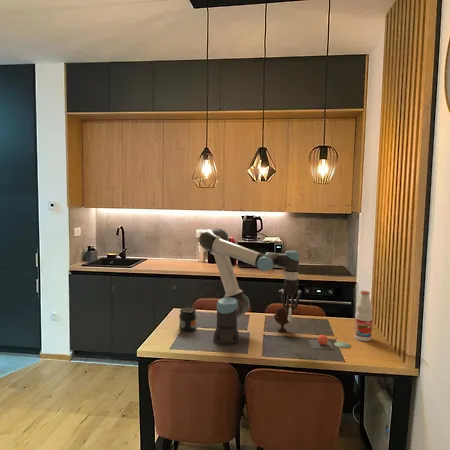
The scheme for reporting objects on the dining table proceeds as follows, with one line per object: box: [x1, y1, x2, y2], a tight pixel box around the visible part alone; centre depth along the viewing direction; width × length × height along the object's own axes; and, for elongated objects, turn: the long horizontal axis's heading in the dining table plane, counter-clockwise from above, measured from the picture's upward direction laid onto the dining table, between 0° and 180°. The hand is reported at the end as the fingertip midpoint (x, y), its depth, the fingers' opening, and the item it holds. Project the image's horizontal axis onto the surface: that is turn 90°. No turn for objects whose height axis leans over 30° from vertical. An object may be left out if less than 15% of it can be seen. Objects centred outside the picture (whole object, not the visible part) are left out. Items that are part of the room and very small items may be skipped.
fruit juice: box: [353, 290, 374, 342], centre depth 221 cm, size 9×9×28 cm
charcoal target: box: [307, 339, 336, 350], centre depth 211 cm, size 12×12×1 cm
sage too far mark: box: [333, 341, 352, 349], centre depth 211 cm, size 9×9×1 cm
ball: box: [317, 334, 329, 345], centre depth 211 cm, size 6×6×6 cm
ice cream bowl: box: [273, 306, 293, 333], centre depth 231 cm, size 11×11×15 cm
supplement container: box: [178, 307, 197, 332], centre depth 231 cm, size 10×10×12 cm
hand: (289, 320), depth 211 cm, fingers closed
